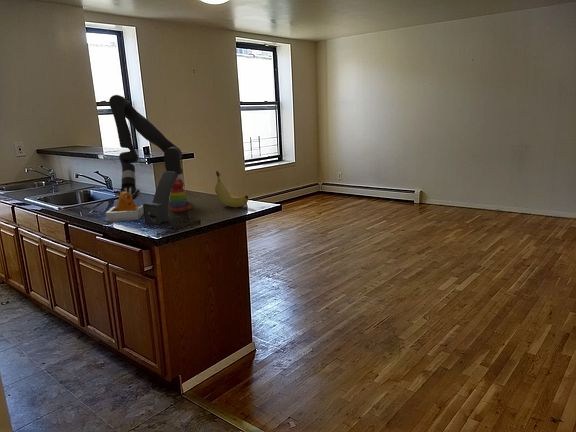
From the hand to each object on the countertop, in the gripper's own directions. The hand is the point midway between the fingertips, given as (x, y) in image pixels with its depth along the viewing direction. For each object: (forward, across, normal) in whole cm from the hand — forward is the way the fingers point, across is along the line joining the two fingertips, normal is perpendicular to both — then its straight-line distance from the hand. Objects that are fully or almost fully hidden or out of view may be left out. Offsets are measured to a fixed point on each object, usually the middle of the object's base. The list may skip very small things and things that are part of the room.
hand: (128, 205), depth 244 cm
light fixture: (+20, +20, -14) cm, 32 cm away
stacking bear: (+5, +27, +2) cm, 28 cm away
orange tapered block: (+5, 0, +2) cm, 5 cm away
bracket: (+10, 0, -4) cm, 10 cm away
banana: (+7, +57, 0) cm, 57 cm away
